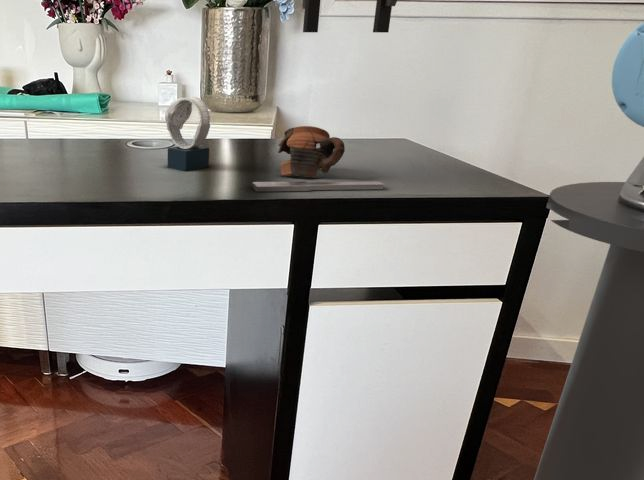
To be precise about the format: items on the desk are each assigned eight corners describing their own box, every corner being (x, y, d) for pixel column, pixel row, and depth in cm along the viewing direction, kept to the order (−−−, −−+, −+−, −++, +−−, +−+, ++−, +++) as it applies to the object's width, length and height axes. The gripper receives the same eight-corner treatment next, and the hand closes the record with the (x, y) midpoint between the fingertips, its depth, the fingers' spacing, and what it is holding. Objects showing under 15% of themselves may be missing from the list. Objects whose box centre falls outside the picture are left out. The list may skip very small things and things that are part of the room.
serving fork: (377, 186, 95) (378, 180, 95) (384, 190, 92) (385, 184, 92) (252, 187, 94) (252, 181, 93) (256, 191, 91) (256, 186, 91)
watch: (182, 161, 112) (183, 94, 107) (216, 168, 106) (218, 98, 102) (159, 165, 108) (158, 96, 103) (192, 172, 103) (194, 100, 98)
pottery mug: (262, 177, 102) (268, 127, 103) (293, 195, 109) (298, 149, 110) (329, 167, 94) (335, 113, 95) (358, 187, 101) (363, 137, 101)
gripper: (278, -127, 95) (268, 32, 104) (426, -163, 77) (398, 32, 87) (312, -120, 99) (299, 32, 109) (459, -152, 81) (429, 32, 91)
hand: (343, 32), depth 98 cm, fingers open, 13 cm apart
